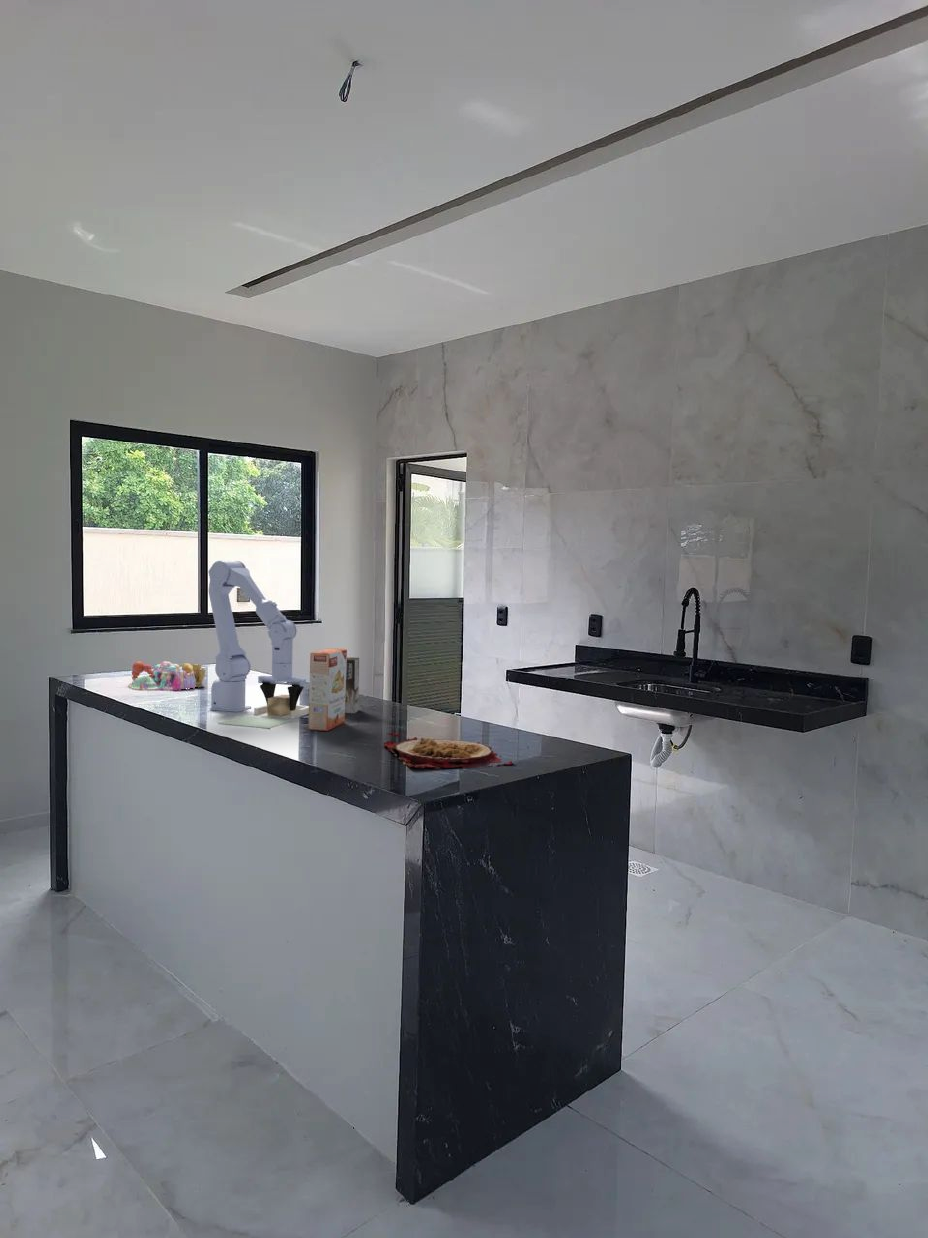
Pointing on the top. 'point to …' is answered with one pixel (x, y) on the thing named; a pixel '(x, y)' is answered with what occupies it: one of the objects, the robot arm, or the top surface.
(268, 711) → the oak block
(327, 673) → the cracker box
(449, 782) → the top surface
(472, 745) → the plate with food
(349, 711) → the coffee box
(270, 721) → the stand mat
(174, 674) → the candy landscape model
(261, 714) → the shelf slot
